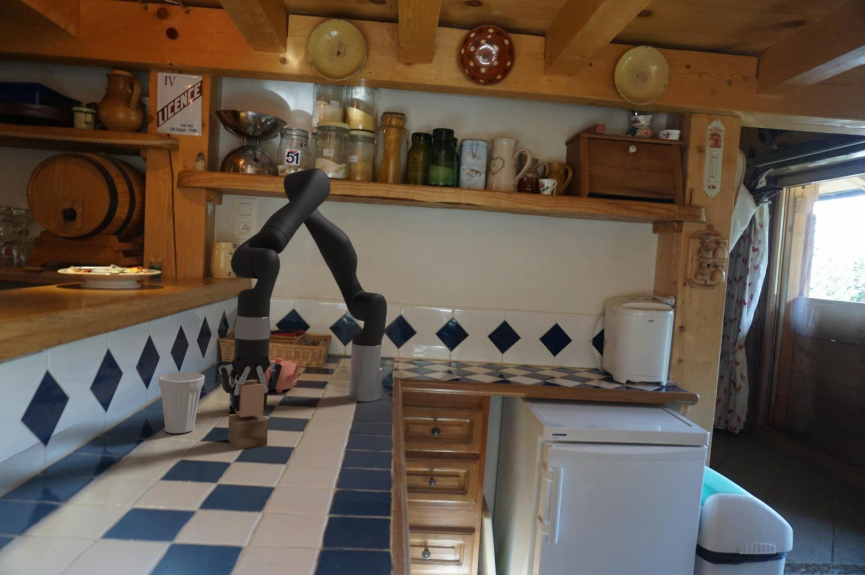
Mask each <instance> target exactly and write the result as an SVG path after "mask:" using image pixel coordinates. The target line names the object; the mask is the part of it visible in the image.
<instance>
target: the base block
mask: <svg viewBox="0 0 865 575" xmlns="http://www.w3.org/2000/svg"><path fill="white" fill-rule="evenodd" d="M268 430H269V419H268V418H267V417H266V416H265V415H264V414H263V415H256V416H247V417H240V416H239V415H238V414H235V413H232V414H228V429H227V440H228V442H229V443H230V445H231V446H232V447H233V449H234V450H242V449H249V448H257V447H264V446H268V433H269V432H268Z"/></svg>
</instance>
